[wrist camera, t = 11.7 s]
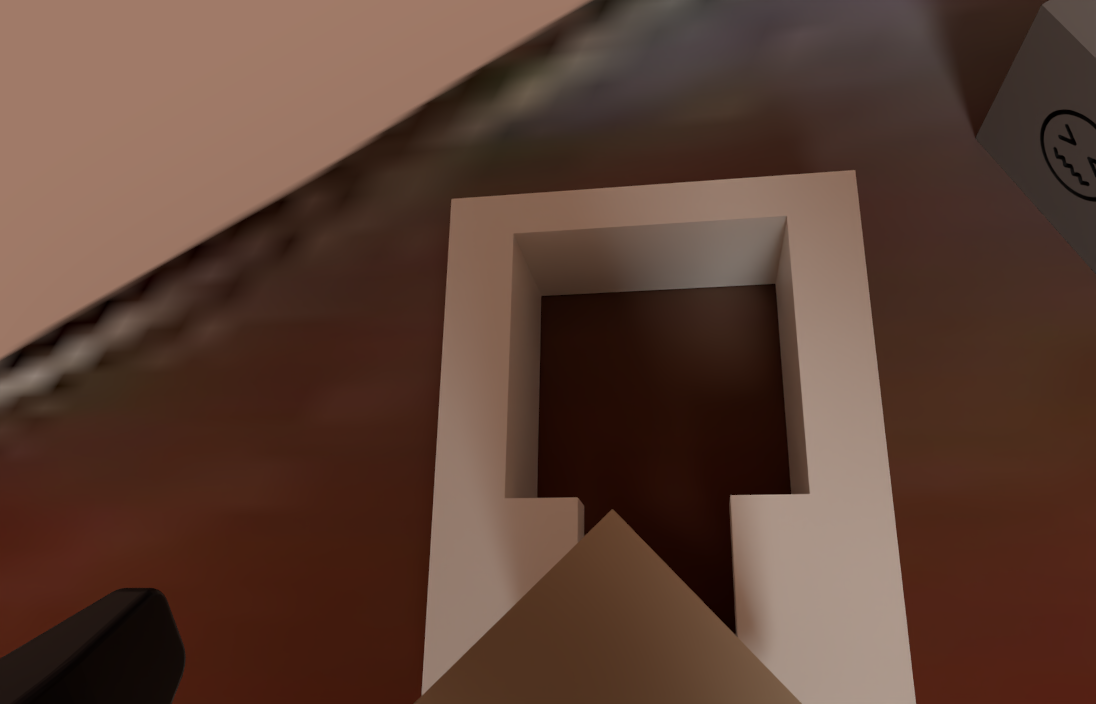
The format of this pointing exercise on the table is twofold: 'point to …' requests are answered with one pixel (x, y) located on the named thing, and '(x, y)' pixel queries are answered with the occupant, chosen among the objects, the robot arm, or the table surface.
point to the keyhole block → (755, 520)
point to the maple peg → (609, 638)
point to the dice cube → (1052, 121)
